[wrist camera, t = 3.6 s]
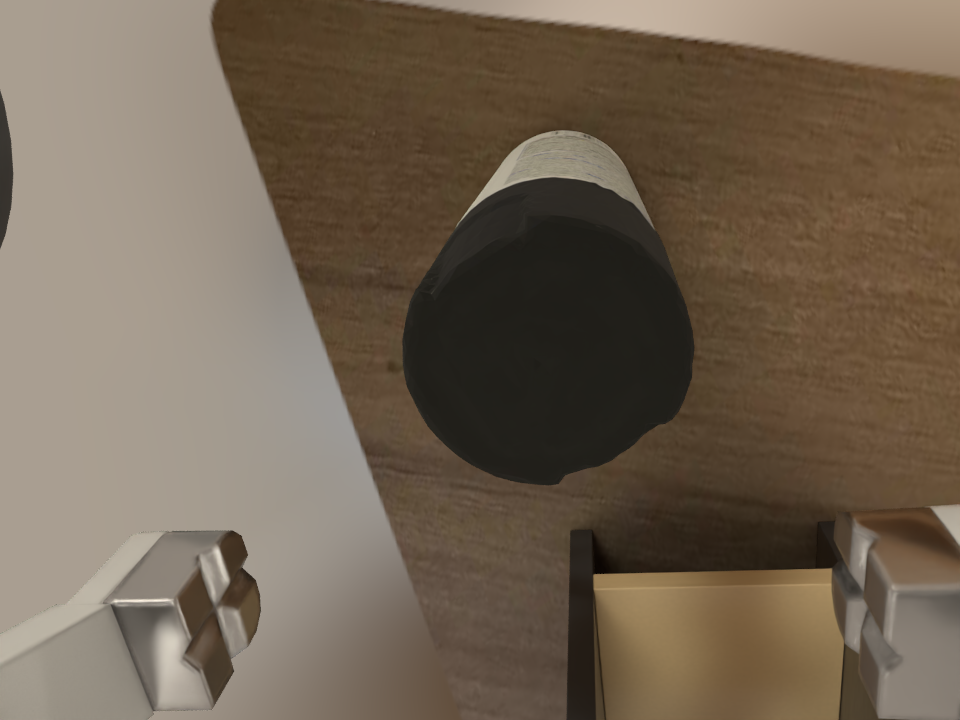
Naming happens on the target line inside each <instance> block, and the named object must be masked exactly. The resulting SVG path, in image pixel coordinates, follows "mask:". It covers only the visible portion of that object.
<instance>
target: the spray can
mask: <svg viewBox="0 0 960 720" xmlns="http://www.w3.org/2000/svg"><path fill="white" fill-rule="evenodd" d="M693 355H694V340H693V331H692V327H691V323H690V319H689V315H688V311H687V307H686V304H685V302H684V299H683V296H682V294H681V291H680V289H679V286H678V283H677V281H676V278H675V275H674V272H673V270H672V267H671V264H670V261H669V258H668V256H667V254H666V250H665V247H664V245H663V243H662V241H661V239H660V237H659V235H658V233H657V232H656V231H655V229H654V227H653V225H652V222H651V220H650V218H649V216H648V214H647V212H646V209H645V207H644V205H643V203H642V201H641V199H640V196H639V194H638V192H637V190H636V188H635V186H634V183H633V181H632V179H631V177H630V175H629V173H628V171H627V169H626V167H625V165H624V164H623V162H622V161H621V159H620V158H619V157H618V155H617V154H616V153H615V152H614V151H613V150H612V149H611V148H610V147H609V146H607V145H606V144H605V143H603V142H602V141H600V140H598V139H596V138H594V137H592V136H590V135H587V134H584V133H581V132H576V131H565V130H561V131H552V132H547V133H543V134H540V135H537V136H535V137H533V138H530V139H529V140H527V141H525V142H523V143H522V144H520V145H519V146H518V147H517V148H515V149H514V150H513V151H512V152H511V153H510V154H509V155H508V156H507V157H506V158H505V160H504V161H503V162H502V164H501V165H500V167H499V168H498V170H497V171H496V173H495V174H494V175H493V177H492V178H491V179H490V181H489V182H488V183H487V185H486V186H485V188H484V189H483V190H482V192H481V193H480V194H479V196H478V197H477V199H476V200H475V201H474V203H473V204H472V205H471V207H470V208H469V209H468V211H467V212H466V213H465V215H464V216H463V218H462V219H461V220H460V222H459V223H458V225H457V227H456V228H455V230H454V232H453V233H452V235H451V236H450V238H449V239H448V241H447V242H446V244H445V246H444V247H443V249H442V250H441V252H440V253H439V255H438V257H437V258H436V260H435V262H434V263H433V265H432V266H431V268H430V270H429V271H428V272H427V274H426V275H425V277H424V278H423V280H422V282H421V283H420V285H419V287H418V288H417V289H416V290H415V292H414V295H413V297H412V299H411V301H410V304H409V309H408V313H407V317H406V322H405V328H404V334H403V368H404V374H405V379H406V384H407V388H408V390H409V392H410V394H411V396H412V398H413V400H414V402H415V404H416V406H417V408H418V410H419V412H420V414H421V416H422V417H423V419H424V421H425V422H426V424H427V426H428V427H429V428H430V429H431V430H432V432H433V433H434V434H435V435H436V436H437V437H438V438H439V439H440V440H441V441H442V442H443V443H444V444H445V445H446V446H447V447H448V448H449V449H451V450H452V451H453V452H454V453H455V454H457V455H458V456H459V457H460V458H462V459H463V460H465V461H466V462H468V463H469V464H471V465H473V466H475V467H477V468H479V469H481V470H483V471H485V472H488V473H490V474H492V475H494V476H496V477H500V478H503V479H507V480H511V481H515V482H520V483H528V484H538V485H555V484H559V482H560V481H561V480H562V479H563V477H564V476H565V475H567V474H570V473H573V472H577V471H580V470H583V469H587V468H591V467H598V466H600V465H602V464H605V463H607V462H609V461H611V460H613V459H614V458H615V457H617V456H618V455H619V454H620V453H622V452H624V451H625V450H627V449H629V448H630V447H631V446H633V445H634V444H635V443H636V442H637V441H638V440H639V439H640V438H641V437H642V436H643V435H644V434H645V433H647V432H648V431H649V430H651V429H653V428H654V427H656V426H657V425H659V424H666V423H667V422H669V421H670V420H672V419H673V418H674V416H675V415H676V414H677V413H678V411H679V410H680V408H681V405H682V403H683V401H684V399H685V396H686V393H687V390H688V387H689V384H690V381H691V378H692V362H693Z"/></svg>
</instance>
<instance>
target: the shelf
mask: <svg viewBox="0 0 960 720" xmlns="http://www.w3.org/2000/svg"><path fill="white" fill-rule="evenodd" d="M834 525H835V522H819V523H818V537H817V558H816V569H788V570H747V571H706V572H665V573H623V574H596V571H595V560H594V549H593V538H592V530H572V531H570V577H569V625H568V673H567V720H907V719H881V718H878V716H877V714H876V712H875V710H874V707H873V705H872V703H871V701H870V699H869V696H868V694H867V692H866V690H865V687H864V685H863V683H862V681H861V679H860V676H859V674H858V665H859V654H858V653H857V652H855V651H854V650H853V649H851V648H850V647H848V646H847V645H845V642H844V640H843V637H842V635H841V633H840V630H839V627H838V624H837V620H836V617H835V614H834V607H833V599H832V592H831V583H832V568H833V567H834V565H835V564H836V563H837V562H838V561H839V560H840V559H841V558H842V555H841V553H840V551H839V549H838V547H837V545H836V543H835V541H834Z"/></svg>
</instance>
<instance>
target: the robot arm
mask: <svg viewBox="0 0 960 720" xmlns="http://www.w3.org/2000/svg"><path fill="white" fill-rule="evenodd" d="M834 541H835V543H836V545H837V547H838V549H839V551H840V553H841V555H842V558H841V559H840V560H839V561H838V562H837V563H836V564H835V565H834V567H833V568H832V583H831V592H832V599H833V607H834V614H835V617H836V620H837V624H838V627H839V630H840V633H841V635H842V637H843V640H844V642H845V645H847V646H848V647H850V648H851V649H853V650H854V651H855V652H857V653H858V654H859V665H858V674H859V676H860V679H861V681H862V683H863V685H864V687H865V690H866V692H867V694H868V696H869V699H870V701H871V703H872V705H873V707H874V710H875V712H876V714H877V716H878V718H881V719H907V720H960V504H956V505H940V506H925V507H921V508H900V509H879V510H858V511H838V513H837V516H836V520H835V525H834ZM247 556H248V554H247V550H246V547H245V545H244V542H243V539H242V536H241V535H239V534H238V533H236V532H234V531H172V532H167V531H159V532H141V533H138V534H135V535H132V536H131V537H130V538H129V539H128V540H127V541H126V542H125V543H124V544H123V545H122V546H121V547H120V548H119V549H118V550H117V551H116V552H115V553H114V554H113V555H112V557H111V558H110V559H109V560H108V561H107V562H106V563H105V564H104V565H103V566H102V567H101V568H100V569H99V570H98V571H97V572H96V573H95V574H94V575H93V576H92V578H90V580H89V581H88V582H87V583H86V584H85V585H84V586H83V587H82V588H81V589H80V590H79V591H78V592H77V593H76V594H75V595H74V596H73V597H72V598H71V599H70V600H69V602H68V603H67V604H61V605H54V606H52V607H51V608H48V609H47V610H45V611H43V612H41V613H39V614H37V615H35V616H33V617H31V618H29V619H27V620H26V621H24V622H22V623H20V624H18V625H16V626H14V627H12V628H10V629H8V630H6V631H5V632H3V633H1V634H0V720H148V719H149V718H150V717H151V716H152V715H153V714H154V713H153V711H182V710H183V711H185V710H212V709H213V707H214V705H215V704H216V702H217V700H218V698H219V697H220V695H221V693H222V691H223V690H224V688H225V686H226V684H227V683H228V681H229V679H230V677H231V676H232V674H233V672H234V670H233V666H232V662H231V658H233V657H234V656H236V655H237V654H239V653H240V652H241V651H243V650H244V649H246V648H247V647H248V646H249V644H250V642H251V640H252V638H253V636H254V635H255V633H256V631H257V626H258V621H259V617H260V612H261V607H260V594H259V590H258V586H257V583H256V580H255V579H254V578H253V577H252V576H251V575H250V574H248V573H247V572H246V571H245V570H244V569H243V568H242V567H243V565H244V562H245V560H246V558H247Z"/></svg>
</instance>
